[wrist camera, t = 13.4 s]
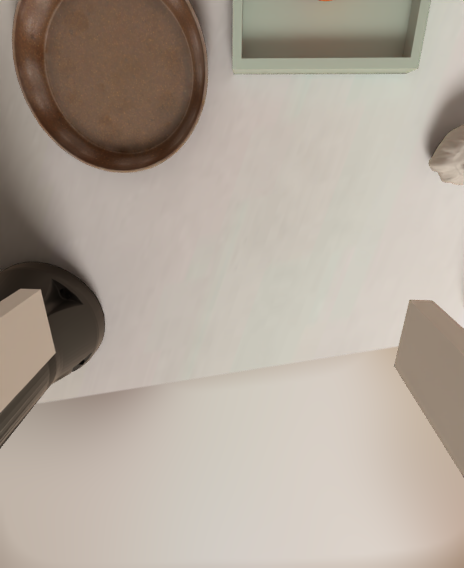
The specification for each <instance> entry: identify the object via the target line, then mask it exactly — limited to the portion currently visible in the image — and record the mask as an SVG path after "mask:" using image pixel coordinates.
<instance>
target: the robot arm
mask: <svg viewBox="0 0 464 568" xmlns="http://www.w3.org/2000/svg"><path fill="white" fill-rule="evenodd" d="M104 332H105V321H104V315H103V312H102V309H101V307H100V304H99V302H98V301H97V299H96V297H95V296H94V294H93V293H92V292H91V290H90V289H89V288H88V287H87V286H86V285H85V284H84V283H83V282H82V281H81V280H79V279H78V278H77V277H75V276H74V275H72V274H71V273H69V272H67V271H66V270H63V269H61V268H59V267H56V266H53V265H50V264H46V263H39V262H26V263H20V264H16V265H14V266H11V267H9V268H7V269H5V270H3V271H1V272H0V448H1V446H3V444H4V443H5V442H6V441H7V439H8V438H9V437H10V435H11V434H12V433H13V432H14V430H15V429H16V428H17V427H18V425H19V424H20V423H21V422H22V420H23V419H24V418H25V416H26V415H27V414H28V413H29V411H30V410H31V409H32V408H33V406H34V405H35V404H36V403H37V401H38V400H39V399H40V398H41V396H42V395H43V394H44V392H45V391H46V390H47V389H48V388H49V386H50V385H51V384H53V383H55V382H56V381H58V380H60V379H61V378H63V377H65V376H67V375H68V374H70V373H71V372H73V371H75V370H77V369H79V368H80V367H82V366H83V365H84V364H85V363H87V362H88V361H89V360H90V358H91V357H92V356H93V355H94V353H95V352H96V351H97V349H98V348H99V346H100V344H101V342H102V340H103V337H104ZM394 366H395V368H396V370H397V371H398V373H399V374H400V376H401V378H402V379H403V381H404V382H405V384H406V386H407V387H408V389H409V390H410V392H411V394H412V395H413V397H414V399H415V400H416V402H417V403H418V405H419V406H420V408H421V410H422V411H423V413H424V415H425V416H426V418H427V419H428V421H429V423H430V424H431V426H432V427H433V429H434V430H435V432H436V434H437V435H438V437H439V438H440V440H441V442H442V443H443V445H444V447H445V448H446V450H447V451H448V453H449V455H450V456H451V458H452V460H453V461H454V463H455V464H456V466H457V468H458V469H459V471H460V472H461V474H462V475H463V477H464V329H463V328H462V327H461V326H460V325H459V324H458V323H457V322H456V321H455V320H453V319H452V318H451V317H450V316H449V315H448V314H447V313H446V312H445V311H443V310H442V309H441V308H440V307H439V306H438V305H437V304H436V303H435V302H433V301H430V300H409V304H408V309H407V313H406V317H405V321H404V326H403V330H402V334H401V338H400V343H399V347H398V351H397V355H396V360H395V364H394Z"/></svg>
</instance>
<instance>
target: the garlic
mask: <svg viewBox="0 0 464 568" xmlns="http://www.w3.org/2000/svg"><path fill="white" fill-rule="evenodd" d="M429 166H430V168H431V170H433V171H436V172H438V174H439V176H440V178H441V180H442V181H443V182H445V183H452V184H455V185H463V184H464V125H462V126H460V127H458V128H455V129H453V130H452V131H451V132H449V133H448V134H447V135H446V136H445V137H444V139H443V141H442V142H441V143H440V144H439V146H438V147H437V149H436V151H435V152H434V154H433V156H432V158H431V159H430V160H429Z"/></svg>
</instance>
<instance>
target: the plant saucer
mask: <svg viewBox="0 0 464 568" xmlns="http://www.w3.org/2000/svg"><path fill="white" fill-rule="evenodd" d="M12 49H13V59H14V65H15V70H16V75H17V78H18V82H19V85H20V87H21V90H22V93H23V95H24V98H25V100H26V102H27V104H28V106H29V108H30V110H31V112H32V114H33V115H34V117H35V118H36V120H37V121H38V123H39V125H40V126H41V127H42V128H43V130H44V131H45V132H46V133H47V134H48V136H49V137H50V138H51V139H52V140H53V141H54V142H55V143H56V144H57V145H58V146H59V147H61V148H62V149H63V150H64V151H65V152H67V153H68V154H70V155H71V156H72V157H74V158H76V159H77V160H79V161H81V162H83V163H85V164H87V165H89V166H92V167H95V168H98V169H101V170H105V171H110V172H120V173H125V172H137V171H142V170H146V169H149V168H152V167H154V166H157V165H159V164H161V163H162V162H164V161H166V160H167V159H168V158H170V157H171V156H172V155H174V154H175V153H176V152H177V151H178V150H179V149H180V148H181V147H182V146H183V145H184V143H185V142H186V141H187V140H188V138H189V137H190V135H191V134H192V132H193V130H194V129H195V127H196V125H197V123H198V120H199V118H200V115H201V113H202V110H203V106H204V102H205V98H206V92H207V83H208V62H207V52H206V46H205V41H204V37H203V33H202V30H201V26H200V23H199V21H198V18H197V16H196V13H195V11H194V9H193V7H192V5H191V3H190V1H189V0H18V4H17V7H16V11H15V15H14V21H13V31H12Z"/></svg>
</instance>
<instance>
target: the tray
mask: <svg viewBox="0 0 464 568" xmlns="http://www.w3.org/2000/svg"><path fill="white" fill-rule="evenodd" d="M430 3H431V0H332V1H319V0H233V33H232V70H233V73H234V74H406V73H409V72H411V71H413V70H416V69H418V67H419V62H420V56H421V51H422V46H423V40H424V35H425V30H426V25H427V19H428V14H429V9H430Z"/></svg>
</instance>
